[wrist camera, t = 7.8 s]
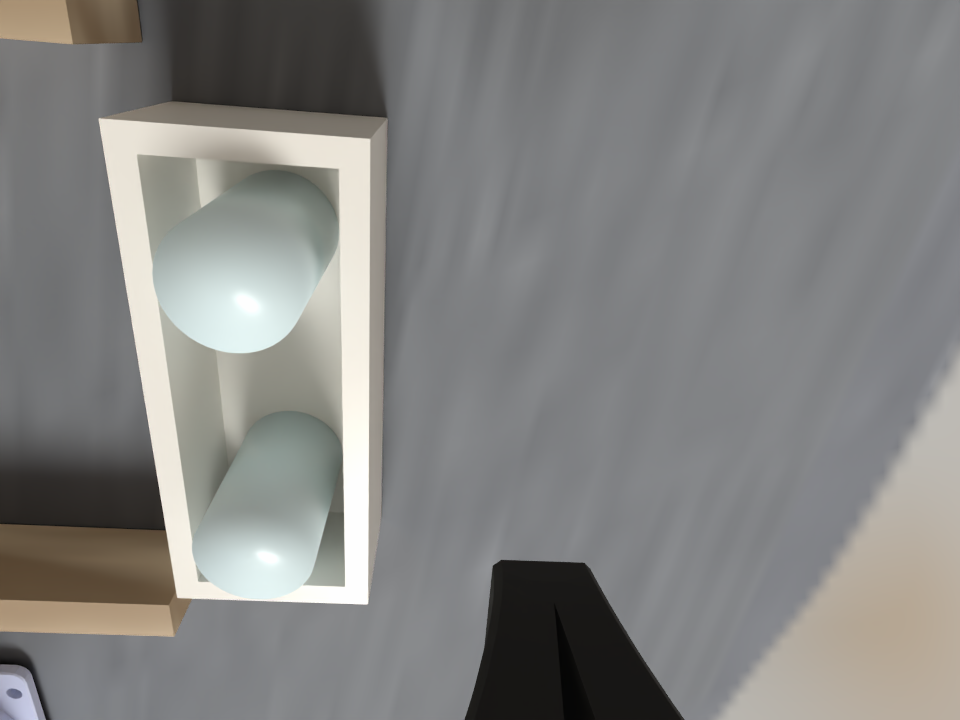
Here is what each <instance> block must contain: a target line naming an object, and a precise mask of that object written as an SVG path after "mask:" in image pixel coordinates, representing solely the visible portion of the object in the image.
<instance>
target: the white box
mask: <svg viewBox="0 0 960 720" xmlns="http://www.w3.org/2000/svg"><path fill="white" fill-rule="evenodd" d="M387 122H388V118H382V117H369V116H356V115H343V114H330V113H317V112H305V111H292V110H279V109H266V108H253V107H240V106H227V105H214V104H201V103H189V102H176V101H170V102H166V103H161V104H157V105H153V106H149V107H145V108H140V109H136V110H132V111H128V112H123V113H119V114H115V115H111V116H107V117H102V118H99V124H100V130H101V136H102V142H103V148H104V154H105V161H106V167H107V173H108V179H109V185H110V191H111V197H112V203H113V209H114V215H115V222H116V228H117V234H118V240H119V246H120V252H121V258H122V264H123V270H124V276H125V283H126V289H127V295H128V301H129V307H130V313H131V319H132V325H133V331H134V337H135V344H136V350H137V356H138V362H139V368H140V374H141V380H142V386H143V392H144V398H145V405H146V411H147V417H148V423H149V429H150V435H151V441H152V447H153V453H154V459H155V466H156V472H157V478H158V484H159V490H160V496H161V502H162V508H163V514H164V520H165V527H166V533H167V539H168V545H169V551H170V557H171V563H172V569H173V575H174V581H175V588H176V594H177V598H191V599H221V600H252V601H282V602H313V603H343V604H368V601H369V595H370V588H371V582H372V576H373V569H374V563H375V556H376V550H377V544H378V537H379V531H380V524H381V508H382V444H383V379H384V315H385V251H386V186H387Z"/></svg>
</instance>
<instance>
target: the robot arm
mask: <svg viewBox="0 0 960 720" xmlns="http://www.w3.org/2000/svg"><path fill="white" fill-rule="evenodd" d="M0 720H46V719H45V716H44V712H43V709H42V706H41V703H40V700H39V696H38V693H37V690H36V687H35V684H34V680H33V677H32V675H31V673H30V671H29V670H28V669H26V668H25V667H22V666H20V665H4V664H0ZM465 720H684V718H683V717H682V716H681V714H680V713H679V711H678V710H677V709H676V707H675V706H674V704H673V703H672V701H671V700H670V698H669V697H668V695H667V694H666V692H665V691H664V689H663V688H662V686H661V685H660V683H659V682H658V680H657V679H656V678H655V676H654V675H653V673H652V672H651V670H650V669H649V667H648V666H647V664H646V663H645V661H644V660H643V658H642V656H641V655H640V653H639V652H638V650H637V649H636V647H635V645H634V644H633V642H632V641H631V639H630V637H629V636H628V634H627V632H626V631H625V629H624V627H623V626H622V624H621V623H620V621H619V619H618V618H617V616H616V614H615V612H614V611H613V609H612V607H611V606H610V604H609V602H608V600H607V599H606V597H605V595H604V593H603V592H602V590H601V588H600V586H599V584H598V583H597V581H596V579H595V577H594V575H593V573H592V571H591V570H590V568H589V567H588V566H587V565H586V564H585V563H574V562H545V561H516V560H501V561H499V562H498V563H496V564H495V565H493V570H492V579H491V589H490V599H489V608H488V618H487V628H486V638H485V647H484V652H483V656H482V660H481V664H480V668H479V672H478V676H477V680H476V684H475V688H474V691H473V695H472V698H471V701H470V704H469V708H468V711H467V714H466V717H465Z"/></svg>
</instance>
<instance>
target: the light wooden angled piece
mask: <svg viewBox="0 0 960 720" xmlns="http://www.w3.org/2000/svg"><path fill="white" fill-rule="evenodd" d="M0 38H4V39H16V40H28V41H40V42H52V43H64V44H99V43H135V42H142V37H141V29H140V21H139V13H138V6H137V0H0ZM191 600H192V599H191V598H177V594H176V588H175V581H174V575H173V569H172V563H171V557H170V551H169V545H168V539H167V533H166V530H140V529H115V528H90V527H64V526H39V525H14V524H0V631H9V632H42V633H76V634H109V635H142V636H175V634H176V632H177V630H178V627H179V625H180V623H181V621H182V619H183V617H184V615H185V613H186V610H187V608H188V606H189V604H190V602H191Z"/></svg>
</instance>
